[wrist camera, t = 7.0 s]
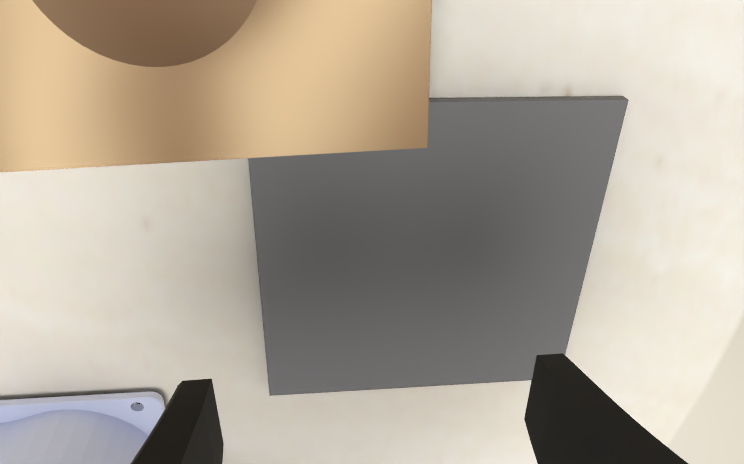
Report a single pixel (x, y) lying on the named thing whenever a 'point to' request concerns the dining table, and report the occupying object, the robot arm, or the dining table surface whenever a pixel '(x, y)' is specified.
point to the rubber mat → (433, 247)
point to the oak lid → (209, 80)
